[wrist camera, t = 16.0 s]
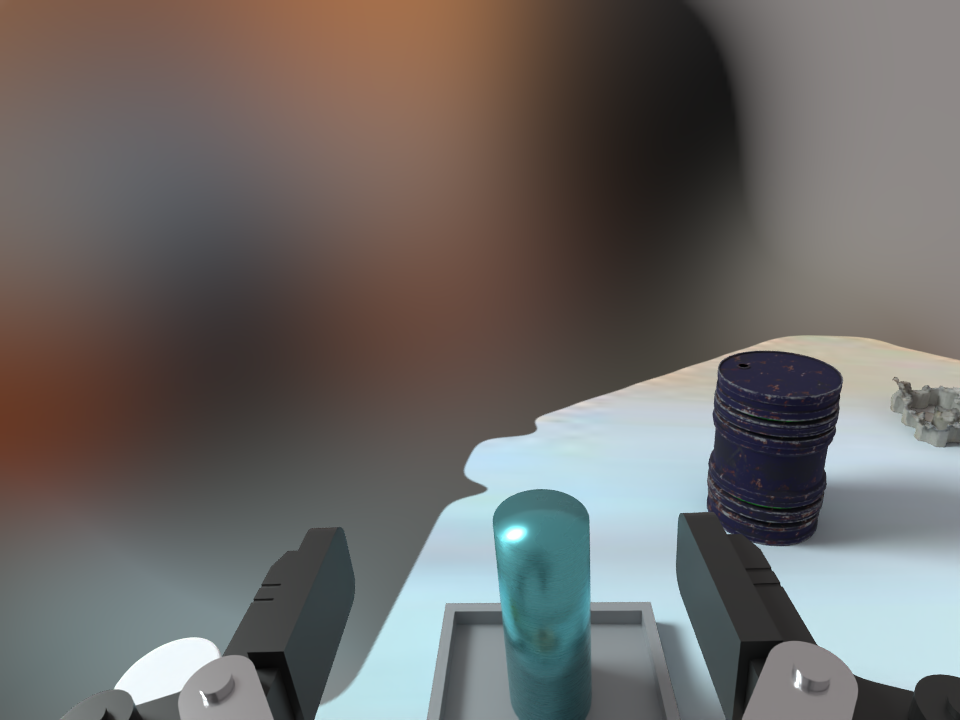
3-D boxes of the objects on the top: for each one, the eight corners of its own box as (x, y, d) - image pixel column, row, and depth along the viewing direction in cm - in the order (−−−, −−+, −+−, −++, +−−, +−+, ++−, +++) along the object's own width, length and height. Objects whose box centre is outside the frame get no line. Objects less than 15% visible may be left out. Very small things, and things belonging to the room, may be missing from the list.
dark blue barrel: (829, 502, 55) (856, 363, 49) (804, 562, 48) (831, 409, 43) (724, 471, 61) (737, 343, 56) (689, 520, 55) (699, 380, 49)
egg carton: (883, 403, 72) (889, 374, 70) (954, 407, 70) (962, 377, 68) (915, 448, 63) (923, 415, 61) (998, 454, 60) (1009, 420, 59)
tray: (421, 798, 34) (417, 777, 33) (448, 621, 46) (445, 603, 45) (695, 806, 32) (697, 784, 32) (649, 621, 44) (650, 602, 44)
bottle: (508, 734, 37) (490, 553, 31) (510, 657, 42) (495, 490, 36) (596, 735, 36) (594, 551, 30) (587, 658, 41) (584, 488, 35)
